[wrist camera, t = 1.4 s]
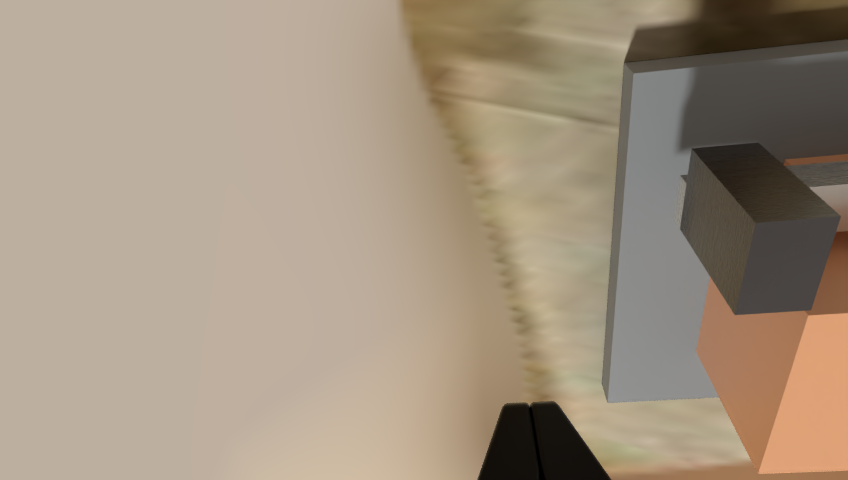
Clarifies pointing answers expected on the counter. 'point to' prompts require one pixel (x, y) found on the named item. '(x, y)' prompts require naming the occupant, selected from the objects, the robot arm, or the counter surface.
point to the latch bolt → (761, 224)
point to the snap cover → (786, 370)
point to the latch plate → (669, 158)
